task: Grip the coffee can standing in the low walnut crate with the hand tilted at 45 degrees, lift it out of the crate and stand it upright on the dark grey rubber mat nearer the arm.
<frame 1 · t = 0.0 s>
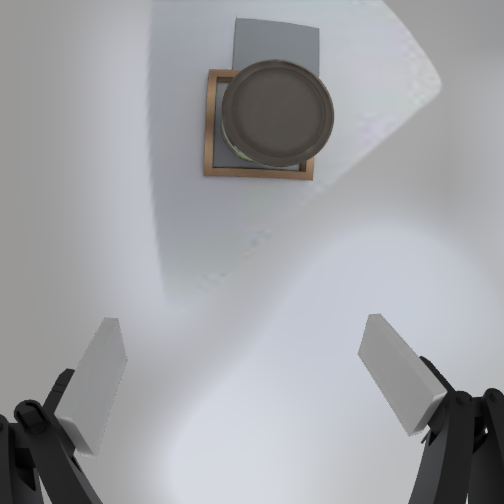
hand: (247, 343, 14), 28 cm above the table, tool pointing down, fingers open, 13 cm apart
coffee can: (259, 125, 37), on the table
mat: (277, 48, 33), on the table
crate: (259, 125, 37), on the table
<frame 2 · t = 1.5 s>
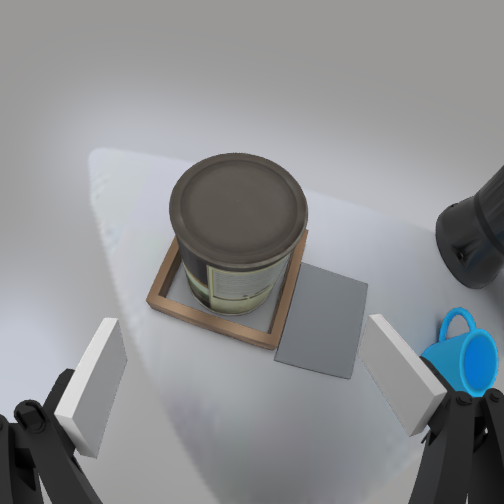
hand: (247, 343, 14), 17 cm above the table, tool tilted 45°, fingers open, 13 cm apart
coffee can: (230, 274, 34), on the table
mat: (325, 320, 32), on the table
crate: (230, 273, 34), on the table
mug: (437, 358, 31), on the table
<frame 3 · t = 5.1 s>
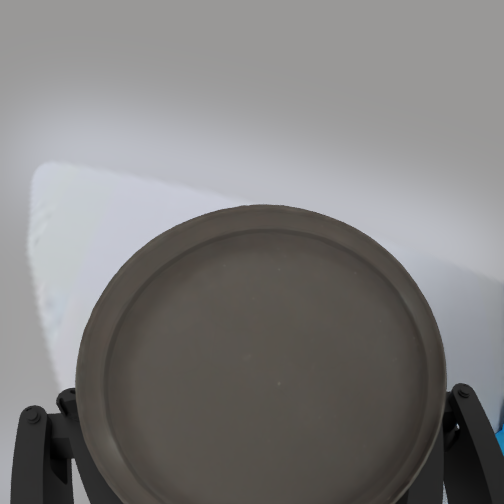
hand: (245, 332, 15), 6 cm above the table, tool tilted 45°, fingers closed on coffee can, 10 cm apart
coffee can: (240, 387, 19), on the table, touching gripper
mug: (496, 448, 16), on the table
when the fingers open (8 cm above the table, at t = 11.3 s): coffee can drops 2 cm, point 1 cm above the table.
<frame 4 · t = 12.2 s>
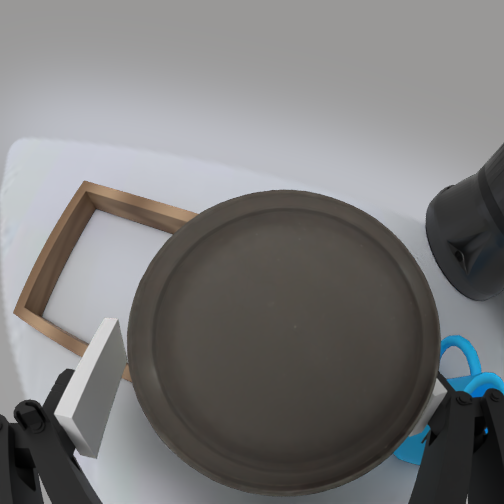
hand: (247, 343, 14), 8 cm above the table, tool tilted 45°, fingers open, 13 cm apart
coffee can: (264, 366, 21), point 1 cm above the table, touching gripper
crate: (116, 281, 23), on the table
mug: (421, 404, 21), on the table
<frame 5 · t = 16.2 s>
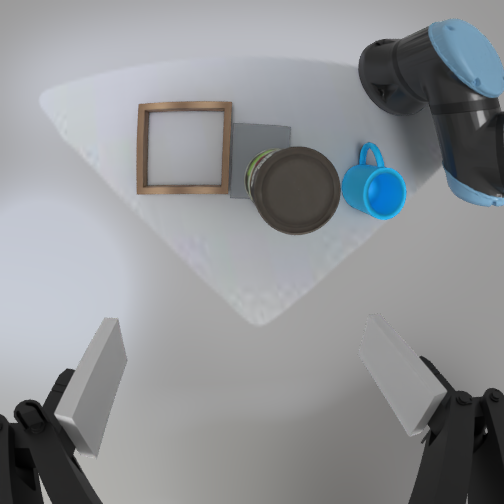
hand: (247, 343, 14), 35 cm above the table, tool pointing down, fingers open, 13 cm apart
coffee can: (275, 180, 46), on the table, touching mat
mat: (260, 161, 45), on the table
crate: (184, 147, 43), on the table
mug: (360, 176, 47), on the table
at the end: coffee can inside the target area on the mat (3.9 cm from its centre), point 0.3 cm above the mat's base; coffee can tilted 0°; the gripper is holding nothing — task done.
